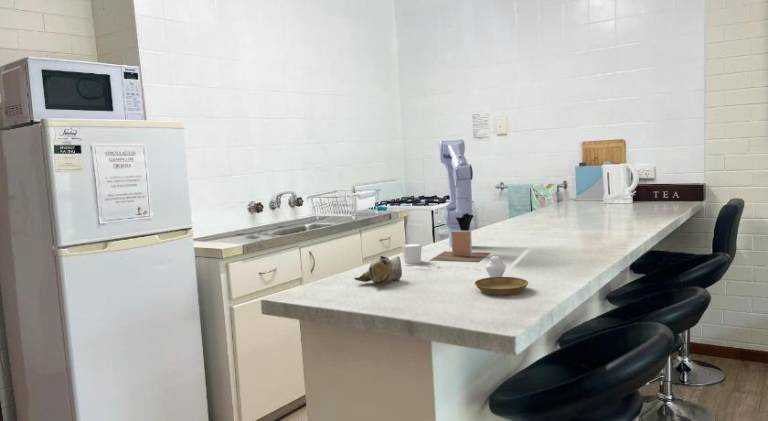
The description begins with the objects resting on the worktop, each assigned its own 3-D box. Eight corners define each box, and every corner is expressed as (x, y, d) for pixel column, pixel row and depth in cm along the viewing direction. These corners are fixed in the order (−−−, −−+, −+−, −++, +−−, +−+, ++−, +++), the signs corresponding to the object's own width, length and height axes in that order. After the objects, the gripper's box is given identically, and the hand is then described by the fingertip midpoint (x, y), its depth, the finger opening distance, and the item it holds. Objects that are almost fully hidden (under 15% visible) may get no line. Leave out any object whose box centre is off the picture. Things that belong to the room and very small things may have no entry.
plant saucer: (475, 298, 161) (475, 289, 160) (474, 285, 175) (474, 276, 175) (531, 297, 159) (531, 288, 158) (525, 284, 173) (525, 276, 173)
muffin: (506, 280, 179) (505, 257, 178) (485, 280, 180) (484, 257, 179) (506, 275, 185) (505, 253, 184) (486, 275, 186) (485, 253, 185)
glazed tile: (453, 254, 218) (452, 230, 218) (472, 255, 216) (471, 230, 215) (452, 255, 217) (451, 231, 216) (470, 256, 214) (470, 231, 213)
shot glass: (422, 262, 212) (421, 243, 212) (422, 266, 206) (421, 246, 205) (403, 262, 213) (402, 243, 212) (402, 266, 206) (401, 246, 206)
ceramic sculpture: (410, 252, 183) (373, 263, 174) (412, 280, 185) (376, 292, 175) (387, 249, 191) (350, 260, 182) (390, 276, 193) (353, 287, 183)
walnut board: (444, 254, 226) (444, 251, 226) (491, 255, 219) (491, 252, 219) (428, 263, 210) (428, 260, 210) (478, 265, 203) (478, 262, 203)
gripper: (458, 196, 227) (460, 231, 228) (447, 200, 214) (448, 237, 215) (477, 196, 224) (478, 231, 225) (466, 199, 211) (467, 237, 212)
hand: (465, 234), depth 220 cm, fingers closed
